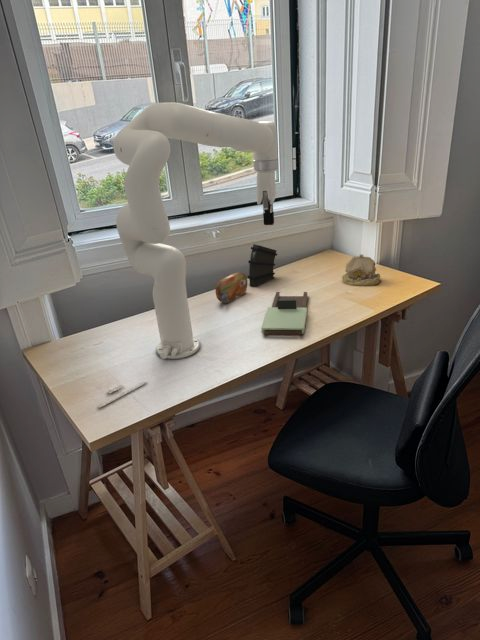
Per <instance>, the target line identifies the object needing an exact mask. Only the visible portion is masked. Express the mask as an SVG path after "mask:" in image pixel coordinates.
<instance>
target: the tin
mask: <svg viewBox="0 0 480 640" xmlns="http://www.w3.org/2000/svg"><path fill="white" fill-rule="evenodd" d="M247 289H248V277H247V276H246V274H245V273H243V272H234V273H231V274H230V275H228V276H226V277H224V278H222V279H220V280H219V281H218V282H217V284H216V286H215V297H216V299H217V301H219V302H221V303H225V304H229V303H231V302H233V301H234V300H236V299H237V297H242V296H243V295H245V293H246V291H247Z"/></svg>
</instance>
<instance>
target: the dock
mask: <svg viewBox="0 0 480 640" xmlns="http://www.w3.org/2000/svg"><path fill="white" fill-rule="evenodd" d="M280 293H281V292H280V291H275V295H274V298H273V302H272V304H271V307H278V302H277V300H278V299H296V305H297V307H298V308H307V303H308V302H307V300H308V292H307V291H303V295H287V296H286V295H280ZM264 336H273V337H274V336H275V337H277V336H280V337H281V336H282V337H283V336H287V337H301V336H302V330H264Z"/></svg>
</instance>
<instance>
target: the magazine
mask: <svg viewBox="0 0 480 640" xmlns="http://www.w3.org/2000/svg"><path fill="white" fill-rule="evenodd" d="M250 250H251V251H250V257H249V260H248V262H247V263H248V264H249V268H248V274H249V275H247V280H248V281H249V285H250V286H253V287H257V286H259V285H262V284H264V283H266V282H268V281H270V280H272V279H274V276H275V275H276V272H274V266H276V263H275V259H276V257H277V256H278V253H277V250H276V249H273V248H270V247H267V246H263V245H259V244H255V243H254V244H252V246H250Z"/></svg>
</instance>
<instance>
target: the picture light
mask: <svg viewBox="0 0 480 640" xmlns="http://www.w3.org/2000/svg"><path fill="white" fill-rule="evenodd" d="M143 385H145V382H140V383H139V384H137V385H135V386H133V387H131V388H129V389H127V390H126V391H124V390H123V388H122V384H120V383H116V385H114V386H112V387H109V388H108V389H107V390H106V393H108V394H112V393H114V392H117V391H119V394H118V395H116V396H114V397H113V398H111V399H108V400H107V401H105V402H103V403H101V404H100V405H99V406H98V408H103V407H105V406H107V405H108V404H110V403H112V402H114V401H116V400H118V399H120V398H122V397H123V396H125V395H128V394H129V393H131V392H132V391H135V390H137V389H138V388H141V387H142V386H143ZM120 389H121V390H122V392H121V390H120Z"/></svg>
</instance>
